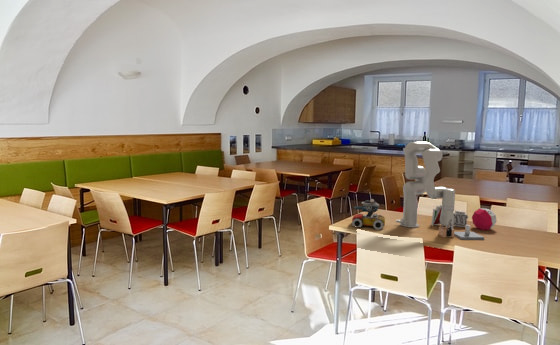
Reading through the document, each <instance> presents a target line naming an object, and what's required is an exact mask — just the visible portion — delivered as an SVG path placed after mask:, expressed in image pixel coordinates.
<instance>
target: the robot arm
mask: <svg viewBox="0 0 560 345" xmlns="http://www.w3.org/2000/svg"><path fill="white" fill-rule="evenodd" d="M403 153H404V166H405V167H404V170H405V171H404V173H405V174H404V176H405V178H406V179H407V180H410V181H407V182H405V183H404V184H403V186H402V192H403V208H402V209H403V211H402V218H401V219H395V223H399V225H400V226H401V227H404V228H418V227H419V226H420V225H419V223H418V209H419V208H418V203H419V202H418V201H419V200H418V197H417V196H418V195H423V194H425V193H426V194H427V196H428V198H429V199H432V200H436V199H442V201H441V205H442V210H441V216H440V223H441V224H440V227H447V234H446V236H452V229H454V227H455V225H453V222H454V213H455V204H456V202H455V200H456V190H455V189H454V188H448V187H445V186H435V183H434V180H435V177H436V176H437V174H439V173H440V172H441V169H440V168H441V167H440V166H439V162H440V161H442V159H443V156H444V155H443V152H442V150H440V149H439V148H438V147H436V146H435V145H433V144H432V143H430V142H428V141H411V142H409V143H407V144H406V145H405V146H404V152H403ZM421 154H422V160H423V163H424V166H422V165H419V161H418V157H417V155H421ZM413 180H414V181H413Z"/></svg>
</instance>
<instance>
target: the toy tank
mask: <svg viewBox="0 0 560 345" xmlns="http://www.w3.org/2000/svg"><path fill="white" fill-rule="evenodd" d="M361 205H362V206H359V205H358V206H354V207H353V208H354V210H361V211H362V212H363V213H364V212H365V213H366V214H363V213H356V214H354V215H353V217H352V220H351V225H352V227H353V226H356V227H360V228H362V226H370V227H373V228H374V229H375V230H377V231H379V230H382V229H383V228H384V227H385V224H386V217H385V216H383V215H381V214H378V213H376V212H378V211H379V207H380V204H379V203H377V202H376V201H375V199H373V198H371V199H370V200H367V199H366V200H365V201H362V202H361Z"/></svg>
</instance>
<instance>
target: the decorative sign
mask: <svg viewBox="0 0 560 345" xmlns="http://www.w3.org/2000/svg"><path fill="white" fill-rule="evenodd" d="M441 210H442V204H440V205H436V206H435V208H433V209H432V216H431V223H430V225H431V226H432V225H435V226H439V225H441V223H440V216H441ZM468 219H469V215H468V214H466V212H465V211H462V210H461V211H460V210H455V209H454V222H453V225H454V227H461V228H465V226H466V225H468Z"/></svg>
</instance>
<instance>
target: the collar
mask: <svg viewBox="0 0 560 345" xmlns="http://www.w3.org/2000/svg"><path fill="white" fill-rule="evenodd" d="M454 232H455V228H453V229H452V236H446V234H447V226H446V227H441V226H439V227H438V236H441V237H442V238H455V236H454Z"/></svg>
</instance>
